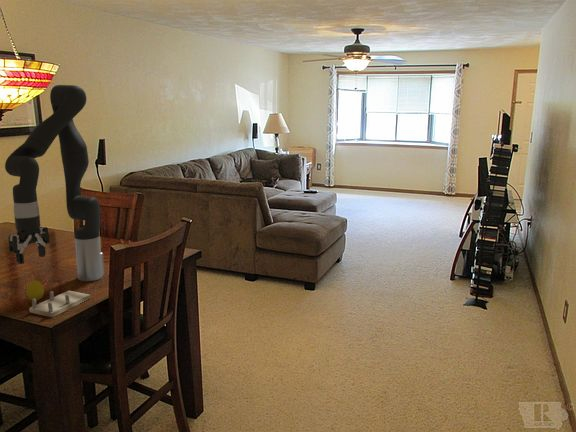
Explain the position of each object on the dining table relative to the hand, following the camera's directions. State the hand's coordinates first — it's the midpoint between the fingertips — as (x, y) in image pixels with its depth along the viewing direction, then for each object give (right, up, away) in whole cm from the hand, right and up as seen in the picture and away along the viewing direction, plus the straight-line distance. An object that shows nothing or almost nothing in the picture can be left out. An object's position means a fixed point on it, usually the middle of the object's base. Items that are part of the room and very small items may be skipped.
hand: (31, 260), depth 165 cm
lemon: (0, -15, +4) cm, 16 cm away
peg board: (+10, -16, +1) cm, 19 cm away
